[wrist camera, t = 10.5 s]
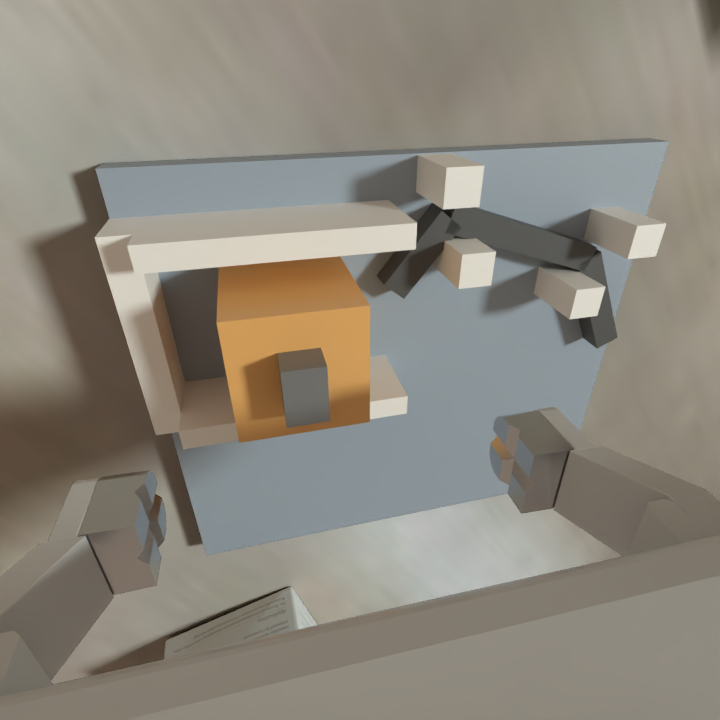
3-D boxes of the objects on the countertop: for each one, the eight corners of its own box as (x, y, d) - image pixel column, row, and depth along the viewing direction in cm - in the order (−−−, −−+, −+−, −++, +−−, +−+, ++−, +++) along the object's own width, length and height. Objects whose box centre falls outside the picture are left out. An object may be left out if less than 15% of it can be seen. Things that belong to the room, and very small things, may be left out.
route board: (649, 138, 19) (741, 153, 15) (554, 469, 28) (598, 523, 25) (102, 163, 15) (66, 190, 11) (207, 538, 24) (203, 613, 21)
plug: (334, 247, 17) (380, 322, 12) (338, 344, 19) (378, 442, 14) (219, 257, 16) (215, 341, 11) (236, 357, 18) (239, 466, 13)
